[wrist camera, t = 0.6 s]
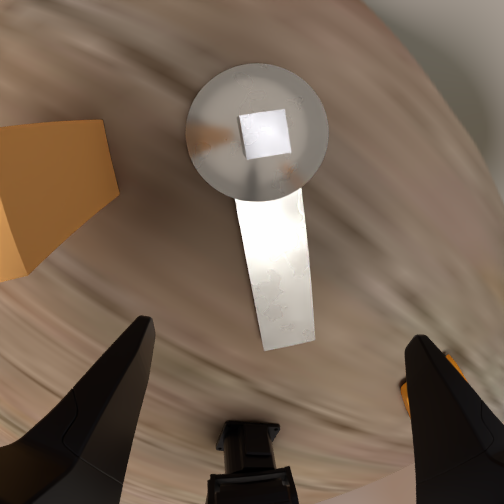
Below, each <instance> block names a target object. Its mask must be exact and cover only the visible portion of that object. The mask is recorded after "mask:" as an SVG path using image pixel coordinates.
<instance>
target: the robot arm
mask: <svg viewBox="0 0 504 504" xmlns="http://www.w3.org/2000/svg"><path fill="white" fill-rule="evenodd" d="M154 343H155V328H154V324H153V319H152V318H151V317H149V316H142V315H141V316H139V317H137V318H136V319H135V321H134V322H133V323H132V324H131V325H130V326H129V327H128V328H127V329H126V330H125V331H124V332H123V333H122V334H121V335H120V336H119V338H118V339H117V340H116V341H115V342H114V343H113V344H112V345H111V346H110V347H109V348H108V349H107V350H106V352H105V353H104V354H103V355H102V356H101V357H100V358H99V359H98V360H97V361H96V362H95V364H94V365H93V366H92V367H91V368H90V369H89V370H88V371H87V372H86V374H85V375H84V376H83V377H82V378H81V379H80V380H79V381H78V382H77V384H76V385H75V386H74V387H73V389H71V390H70V391H69V392H68V394H67V395H66V396H65V397H64V398H63V399H62V400H61V401H60V402H59V403H58V404H57V405H56V406H55V407H54V408H53V409H52V410H51V411H50V412H49V413H48V414H47V415H46V416H45V417H44V418H43V419H42V420H40V421H39V422H38V423H37V424H36V425H35V426H34V427H33V428H32V429H30V430H29V431H28V432H27V433H26V434H25V435H24V436H23V437H21V438H20V439H19V440H17V441H15V442H14V443H12V444H9V445H6V446H3V447H0V504H119V502H120V497H121V492H122V487H123V482H124V477H125V473H126V468H127V464H128V459H129V455H130V451H131V446H132V442H133V438H134V434H135V430H136V426H137V422H138V418H139V414H140V410H141V406H142V403H143V399H144V395H145V391H146V388H147V384H148V380H149V374H150V367H151V361H152V355H153V349H154ZM405 367H406V384H407V394H408V401H409V409H410V417H411V425H412V435H413V445H414V457H415V472H416V504H504V425H503V424H502V422H501V421H500V420H499V419H498V418H497V417H496V416H495V415H494V414H493V412H492V411H491V410H490V409H489V408H488V406H487V405H486V404H485V403H484V401H483V400H481V398H480V397H479V395H478V394H477V393H476V392H475V391H474V389H473V388H472V387H471V386H470V385H469V383H468V382H467V381H466V380H465V379H464V377H463V376H462V375H461V374H460V373H459V372H458V370H457V369H456V368H455V367H454V366H453V365H452V363H451V362H450V361H449V360H448V359H447V358H446V357H445V355H444V354H443V353H442V352H441V351H440V350H439V349H438V348H437V346H436V345H435V344H434V343H433V342H432V341H431V340H430V339H429V338H428V337H427V336H426V335H415V336H414V337H413V339H412V340H411V341H410V343H409V344H408V345H407V347H406V349H405ZM279 431H280V426H279V425H275V424H258V423H244V422H234V421H228V422H226V423H225V425H224V427H223V430H222V432H221V435H220V437H219V440H218V442H217V445H216V449H217V450H219V451H224V463H225V474H218V475H216V474H211V475H210V480H208V481H207V482H208V493H207V498H206V503H205V504H299V502H298V496H297V492H296V488H295V484H294V481H293V477H292V473H291V469H290V466H287V467H285V468H278V469H276V464H275V458H274V453H273V447H272V442H273V440H274V438H275V437H276V435H277V434H278V432H279Z"/></svg>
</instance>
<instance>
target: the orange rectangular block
mask: <svg viewBox="0 0 504 504" xmlns="http://www.w3.org/2000/svg"><path fill="white" fill-rule="evenodd" d="M118 195H120V193H119V189H118V185H117V181H116V177H115V173H114V169H113V165H112V161H111V156H110V152H109V147H108V143H107V138H106V133H105V128H104V123H103V120H74V121H57V122H44V123H33V124H24V125H15V126H7V127H0V282H3V281H7V280H11V279H16V278H20V277H24V276H28V275H29V274H30V273H31V272H32V271H33V270H34V269H35V268H36V267H37V266H38V265H39V264H40V263H41V262H42V261H43V260H44V259H45V258H47V257H48V256H49V255H50V254H51V253H52V252H53V251H54V250H55V249H56V248H57V247H58V246H59V245H60V244H62V243H63V242H64V241H65V240H66V239H67V238H68V237H69V236H70V235H72V234H73V233H74V232H75V231H76V230H77V229H78V228H80V227H81V226H82V225H83V224H84V223H85V222H87V221H88V220H89V219H90V218H91V217H92V216H94V215H95V214H96V213H97V212H98V211H100V210H101V209H102V208H103V207H105V206H106V205H107V204H108V203H110V202H111V201H112V200H113V199H115V198H116V197H117V196H118Z"/></svg>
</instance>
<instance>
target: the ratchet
mask: <svg viewBox="0 0 504 504" xmlns="http://www.w3.org/2000/svg"><path fill="white" fill-rule="evenodd" d="M328 136H329V129H328V121H327V116H326V112H325V110H324V107H323V105H322V103H321V101H320V99H319V97H318V96H317V94H316V93H315V91H314V90H313V89H312V88H311V87H310V86H309V84H308V83H306V82H305V81H304V80H303V79H302V78H300V77H299V76H297V75H296V74H294V73H293V72H291V71H289V70H286V69H284V68H281V67H278V66H275V65H270V64H260V63H254V64H244V65H240V66H236V67H233V68H230V69H228V70H226V71H224V72H222V73H220V74H218V75H217V76H215V77H214V78H212V79H211V80H210V81H209V82H208V83H207V84H206V85H205V86H204V87H203V88H202V89H201V90H200V92H199V93H198V94H197V96H196V98H195V99H194V101H193V103H192V105H191V108H190V110H189V113H188V117H187V122H186V143H187V148H188V152H189V155H190V158H191V160H192V162H193V164H194V166H195V168H196V169H197V171H198V172H199V174H200V175H201V176H202V177H203V179H204V180H205V181H206V182H207V183H208V184H209V185H211V186H212V187H213V188H215V189H216V190H217V191H219V192H221V193H223V194H225V195H227V196H229V197H232V198H234V199H235V202H236V208H237V213H238V218H239V223H240V229H241V234H242V239H243V245H244V250H245V255H246V260H247V265H248V271H249V276H250V281H251V286H252V291H253V297H254V302H255V307H256V312H257V317H258V322H259V327H260V333H261V338H262V343H263V348H264V351H267V350H272V349H277V348H282V347H287V346H292V345H296V344H301V343H305V342H310V341H314V340H315V329H314V314H313V301H312V288H311V276H310V264H309V254H308V243H307V234H306V224H305V215H304V206H303V198H302V190H301V187H302V186H304V185H305V184H306V183H307V182H308V181H309V180H310V179H311V178H312V177H313V175H314V174H315V173H316V171H317V170H318V168H319V167H320V165H321V163H322V161H323V159H324V156H325V153H326V150H327V145H328Z"/></svg>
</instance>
